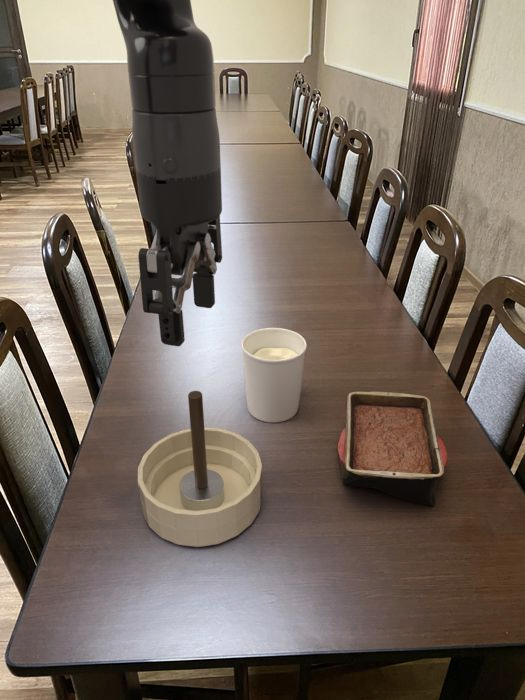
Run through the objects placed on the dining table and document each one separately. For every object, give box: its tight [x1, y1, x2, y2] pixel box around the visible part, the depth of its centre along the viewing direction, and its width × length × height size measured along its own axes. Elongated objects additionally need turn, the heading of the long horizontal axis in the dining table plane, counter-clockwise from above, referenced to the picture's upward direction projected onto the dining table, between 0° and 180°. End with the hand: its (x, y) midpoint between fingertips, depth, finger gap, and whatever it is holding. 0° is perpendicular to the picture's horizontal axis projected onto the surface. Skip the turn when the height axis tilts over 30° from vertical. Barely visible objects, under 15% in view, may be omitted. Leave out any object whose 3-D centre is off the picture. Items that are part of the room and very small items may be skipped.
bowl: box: [137, 426, 263, 548], centre depth 68 cm, size 15×15×6 cm
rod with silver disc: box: [179, 390, 224, 511], centre depth 65 cm, size 6×6×16 cm
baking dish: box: [336, 390, 448, 508], centre depth 73 cm, size 14×18×10 cm
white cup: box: [240, 327, 308, 424], centre depth 84 cm, size 10×10×12 cm
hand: (189, 323), depth 56 cm, fingers open, 8 cm apart
